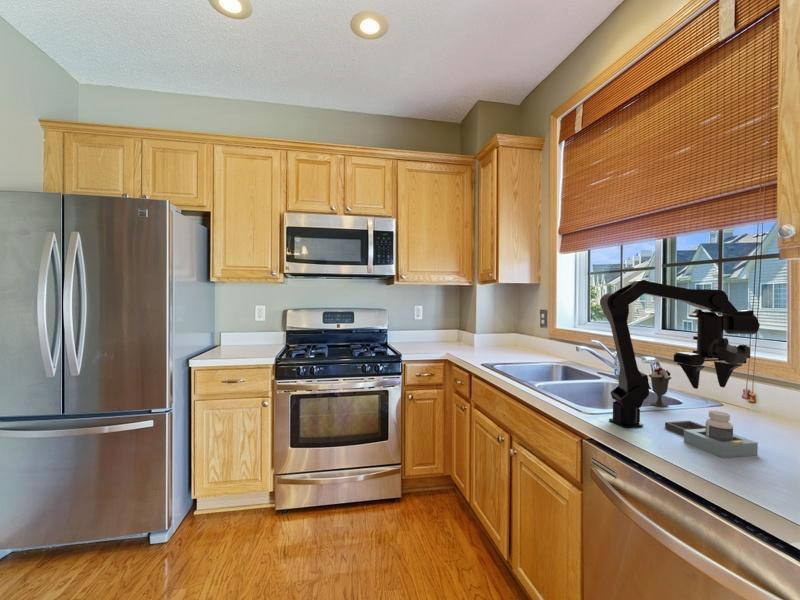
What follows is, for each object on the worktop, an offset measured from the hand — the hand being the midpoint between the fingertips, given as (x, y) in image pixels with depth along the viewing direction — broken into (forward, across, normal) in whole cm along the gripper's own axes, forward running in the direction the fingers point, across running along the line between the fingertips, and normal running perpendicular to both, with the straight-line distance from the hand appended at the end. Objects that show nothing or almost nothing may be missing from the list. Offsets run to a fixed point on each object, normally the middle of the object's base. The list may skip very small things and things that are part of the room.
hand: (709, 387), depth 105 cm
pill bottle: (+12, -10, -11) cm, 19 cm away
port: (+12, -10, -11) cm, 19 cm away
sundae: (+12, +6, +22) cm, 26 cm away
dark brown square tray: (+12, -7, -1) cm, 14 cm away
